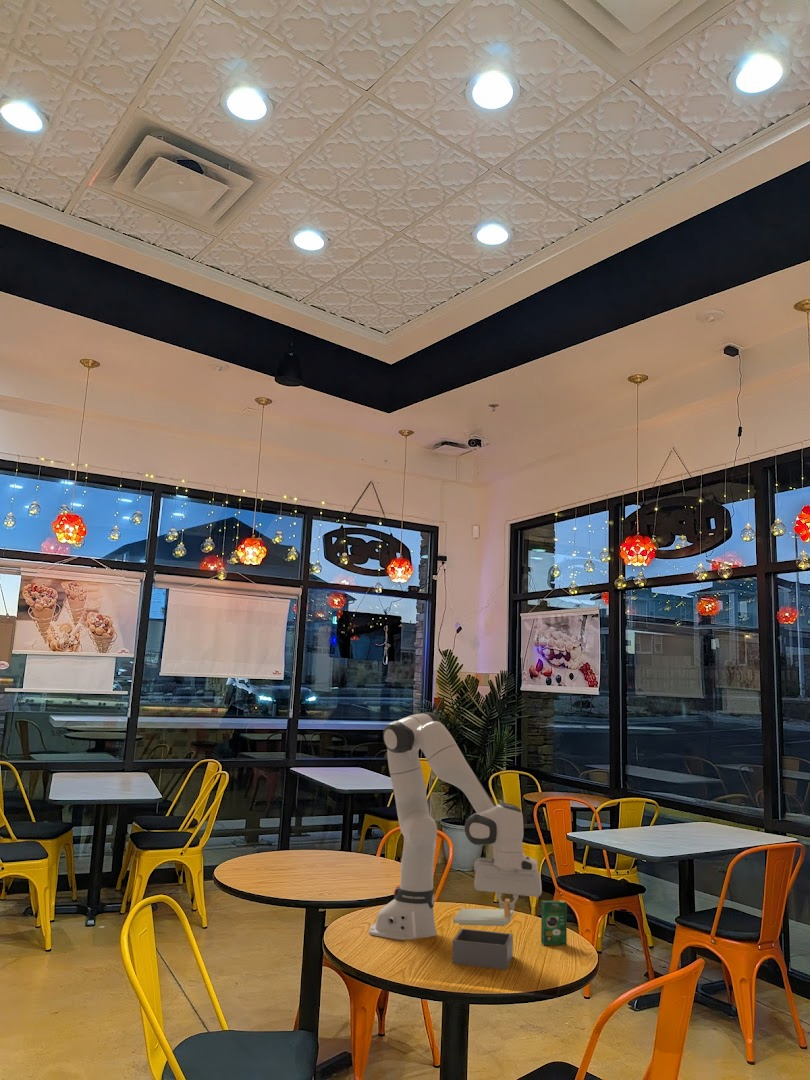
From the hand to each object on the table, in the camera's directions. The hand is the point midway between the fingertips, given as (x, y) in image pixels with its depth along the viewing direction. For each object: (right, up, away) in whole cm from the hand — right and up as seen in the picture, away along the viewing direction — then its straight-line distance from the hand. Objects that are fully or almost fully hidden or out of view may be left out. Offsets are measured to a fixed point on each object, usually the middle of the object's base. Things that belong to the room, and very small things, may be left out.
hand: (507, 909), depth 231 cm
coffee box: (+18, -20, +18) cm, 32 cm away
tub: (-7, -15, -2) cm, 17 cm away
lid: (-7, -3, +1) cm, 8 cm away
